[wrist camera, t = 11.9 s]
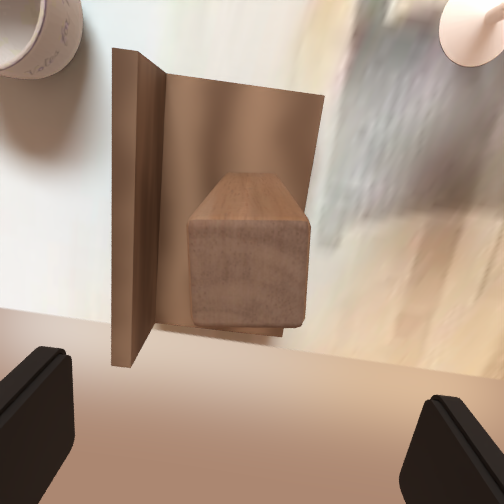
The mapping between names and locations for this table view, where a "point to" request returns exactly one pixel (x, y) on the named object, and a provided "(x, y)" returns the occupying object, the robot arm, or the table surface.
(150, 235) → the walnut shelf
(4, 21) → the teacup
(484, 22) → the champagne flute
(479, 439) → the robot arm
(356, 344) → the table surface
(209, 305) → the wooden block
